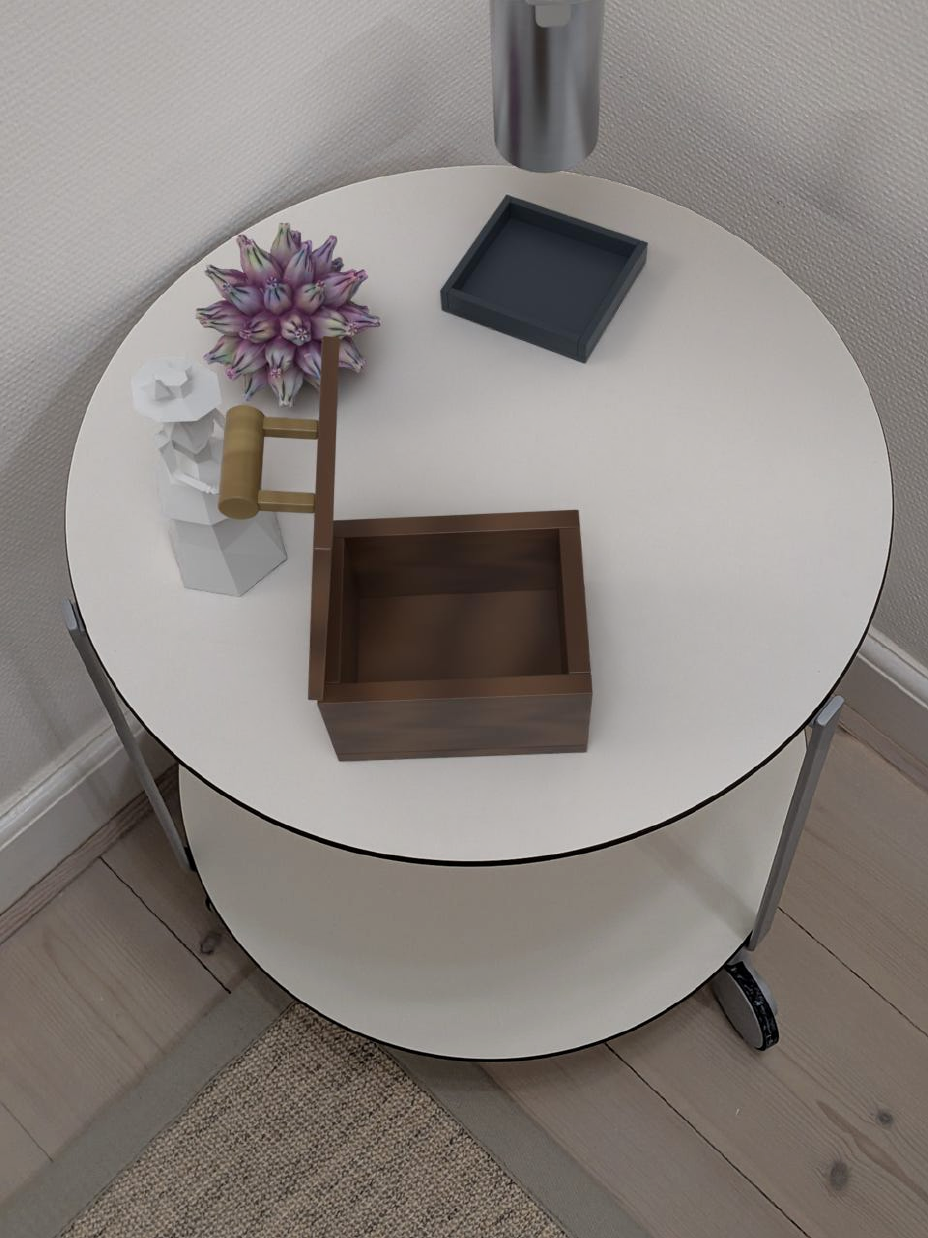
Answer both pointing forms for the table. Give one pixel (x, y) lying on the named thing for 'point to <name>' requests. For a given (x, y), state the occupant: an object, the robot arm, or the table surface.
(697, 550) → the table surface
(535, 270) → the tray
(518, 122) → the flask
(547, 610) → the chest
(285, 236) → the flower
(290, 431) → the lid
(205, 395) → the figurine
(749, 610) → the table surface
